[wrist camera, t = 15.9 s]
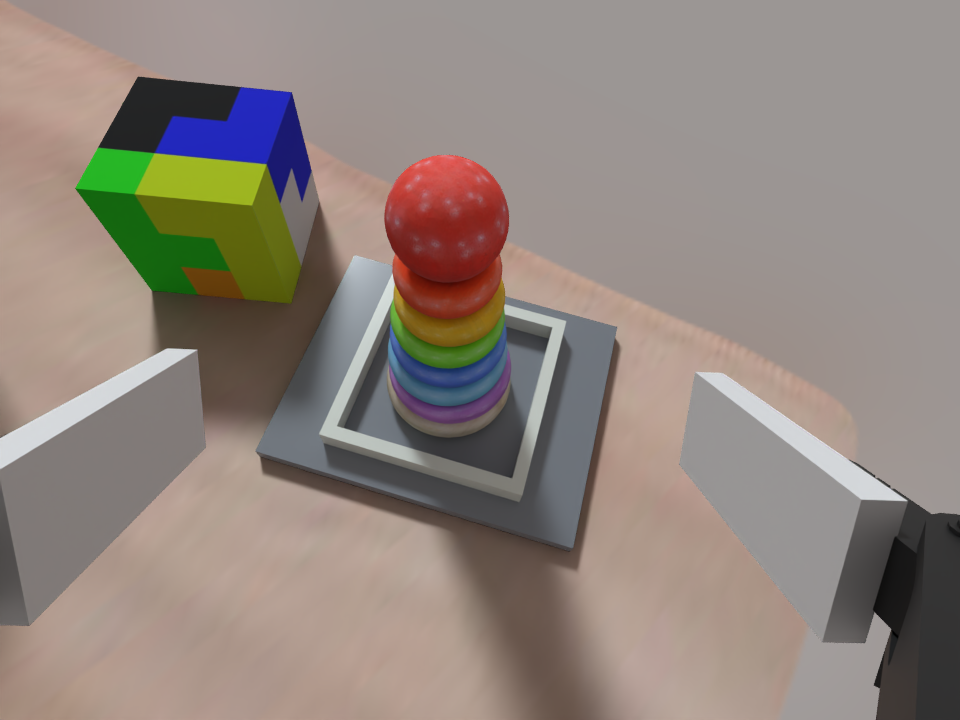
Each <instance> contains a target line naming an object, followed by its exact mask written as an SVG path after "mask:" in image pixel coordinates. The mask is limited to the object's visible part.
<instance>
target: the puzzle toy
mask: <svg viewBox="0 0 960 720" xmlns="http://www.w3.org/2000/svg"><path fill="white" fill-rule="evenodd" d="M75 189H76V190H77V192H78V193H79V194H80V196H81V197H82V198H83V200H84V201H85V202H86V203H87V205H88V206H89V207H90V209H91V210H92V211H93V213H94V214H95V215H96V217H97V218H98V219H99V221H100V222H101V223H102V225H103V226H104V227H105V229H106V230H107V231H108V233H109V234H110V235H111V237H112V238H113V239H114V241H115V242H116V243H117V245H118V246H119V247H120V249H121V250H122V251H123V253H124V254H125V255H126V257H127V258H128V259H129V261H130V262H131V263H132V265H133V266H134V267H135V269H136V270H137V271H138V273H139V274H140V275H141V277H142V278H143V279H144V281H145V282H146V283H147V285H148V286H149V287H150V289H151V290H152V291H161V292H172V293H183V294H193V295H204V296H215V297H226V298H237V299H247V300H258V301H269V302H280V303H292V299H293V296H294V292H295V288H296V285H297V281H298V277H299V274H300V270H301V266H302V263H303V259H304V256H305V252H306V248H307V245H308V241H309V237H310V234H311V230H312V226H313V223H314V219H315V215H316V212H317V208H318V204H319V198H318V194H317V190H316V186H315V182H314V178H313V174H312V170H311V166H310V162H309V158H308V154H307V150H306V147H305V143H304V139H303V135H302V131H301V127H300V123H299V119H298V115H297V111H296V107H295V103H294V99H293V95H292V92H283V91H273V90H264V89H254V88H244V87H235V86H225V85H214V84H205V83H194V82H185V81H175V80H166V79H156V78H146V77H138V78H137V79H136V81H135V83H134V85H133V86H132V88H131V90H130V92H129V94H128V95H127V97H126V99H125V101H124V102H123V104H122V106H121V108H120V110H119V111H118V113H117V115H116V117H115V118H114V120H113V122H112V124H111V126H110V127H109V129H108V131H107V133H106V134H105V136H104V138H103V140H102V142H101V143H100V145H99V147H98V149H97V151H96V152H95V154H94V156H93V158H92V159H91V161H90V163H89V165H88V167H87V168H86V170H85V172H84V174H83V175H82V177H81V179H80V181H79V183H78V184H77V186H76V188H75Z"/></svg>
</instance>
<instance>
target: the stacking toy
mask: <svg viewBox="0 0 960 720" xmlns="http://www.w3.org/2000/svg"><path fill="white" fill-rule="evenodd" d="M384 221H385V228H386V233H387V237H388V239H389V242H390V244H391V247H392V249H393V251H394V252H395V256H394V260H393V267H392V273H393V279H394V283H395V286H394V292H393V301H392V304H391V310H390V321H391V325H390V338H389V343H388V359H389V366H388V371H387V389H388V393H389V397H390V399H391V402H392V404H393V406H394V408H395V409H396V411H397V412H398V414H399V415H400V416H401V417H402V418H403V419H404V420H405V421H406V422H407V423H408V424H410V425H411V426H412V427H414V428H415V429H417V430H419V431H421V432H423V433H426V434H429V435H433V436H437V437H446V438H451V437H461V436H466V435H469V434H472V433H475V432H477V431H479V430H481V429H483V428H484V427H485V426H487V425H488V424H489V423H491V422H492V421H493V420H494V419H495V418H496V417H497V415H498V414H499V413H500V412H501V410H502V409H503V407H504V405H505V403H506V401H507V398H508V395H509V391H510V383H511V380H510V375H511V360H510V354H509V351H508V347H507V341H506V338H507V332H506V324H505V311H504V305H505V288H504V284H503V281H502V278H501V277H502V262H501V257H500V255H499V254H500V252H501V250H502V248H503V246H504V243H505V241H506V237H507V233H508V227H509V212H508V206H507V203H506V199H505V196H504V194H503V191H502V189H501V187H500V185H499V184H498V183H497V181H496V180H495V178H494V177H493V176H492V175H491V174H490V173H489V172H488V171H487V170H486V169H485V168H483V167H482V166H480V165H479V164H477V163H475V162H474V161H471V160H469V159H466V158H463V157H459V156H453V155H437V156H432V157H429V158H426V159H423V160H421V161H419V162H417V163H415V164H413V165H412V166H410V167H409V168H407V169H406V170H405V171H404V172H403V173H402V174H401V175H400V176H399V177H398V179H397V180H396V182H395V183H394V185H393V187H392V189H391V191H390V193H389V195H388V199H387V202H386V207H385V217H384Z"/></svg>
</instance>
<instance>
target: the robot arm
mask: <svg viewBox="0 0 960 720" xmlns="http://www.w3.org/2000/svg"><path fill="white" fill-rule="evenodd" d="M205 448H206V443H205V432H204V420H203V409H202V397H201V385H200V374H199V362H198V350H192V349H170V348H167V349H165V350H163V351H161V352H159V353H158V354H156V355H154V356H152V357H150V358H148V359H146V360H145V361H143V362H141V363H139V364H137V365H135V366H133V367H132V368H130V369H128V370H126V371H124V372H122V373H120V374H119V375H117V376H115V377H113V378H111V379H109V380H107V381H106V382H104V383H102V384H100V385H98V386H96V387H94V388H93V389H91V390H89V391H87V392H85V393H83V394H81V395H80V396H78V397H76V398H74V399H72V400H70V401H68V402H67V403H65V404H63V405H61V406H59V407H57V408H55V409H54V410H52V411H50V412H48V413H46V414H44V415H42V416H40V417H39V418H37V419H35V420H33V421H31V422H29V423H27V424H26V425H24V426H22V427H20V428H18V429H16V430H14V431H13V432H11V433H8V434H6V435H4V436H2V437H0V625H17V626H30V625H31V624H32V623H33V622H34V621H35V620H36V619H37V618H38V617H39V616H40V615H41V614H42V613H43V612H44V611H45V610H46V609H47V608H48V607H49V605H50V604H51V603H52V602H53V601H54V600H55V599H56V598H57V597H58V596H59V595H60V594H61V593H62V592H63V591H64V590H65V589H66V588H67V587H68V586H69V585H70V584H71V583H72V582H73V581H74V580H75V579H76V578H77V577H78V576H79V575H80V574H81V573H82V572H83V571H84V570H85V569H86V568H87V567H88V566H89V565H90V564H91V563H92V562H93V561H94V560H95V559H96V558H97V557H98V556H99V555H100V554H101V553H102V552H103V551H104V550H105V549H106V548H107V547H108V546H109V545H110V544H111V543H112V542H113V541H114V540H115V539H116V538H117V537H118V536H119V535H120V534H121V533H122V532H123V531H124V530H125V529H126V528H127V527H128V526H129V525H130V524H131V523H132V522H133V521H134V520H135V519H136V518H137V516H138V515H139V514H140V513H141V512H142V511H143V510H144V509H145V508H146V507H147V506H148V505H149V504H150V503H151V502H152V501H153V500H154V499H155V498H156V497H157V496H158V495H159V494H160V493H161V492H162V491H163V490H164V489H165V488H166V487H167V486H168V485H169V484H170V483H171V482H172V481H173V480H174V479H175V478H176V477H177V476H178V475H179V474H180V473H181V472H182V471H183V470H184V469H185V468H186V467H187V466H188V465H189V464H190V463H191V462H192V461H193V460H194V459H195V458H196V457H197V456H198V455H199V454H200V453H201V452H202V451H203V450H204V449H205ZM679 465H680V466H681V467H682V469H683V470H684V471H685V472H686V474H687V475H688V476H689V477H690V479H691V480H692V481H693V482H694V484H695V485H696V486H697V487H698V489H699V490H700V491H701V492H702V494H703V495H704V496H705V497H706V499H707V500H708V501H709V502H710V504H711V505H712V506H713V507H714V508H715V510H716V511H717V512H718V513H719V515H720V516H721V517H722V518H723V520H724V521H725V522H726V523H727V525H728V526H729V527H730V528H731V530H732V531H733V532H734V533H735V535H736V536H737V537H738V538H739V540H740V541H741V542H742V543H743V545H744V546H745V547H746V548H747V550H748V551H749V552H750V553H751V555H752V556H753V557H754V558H755V559H756V561H757V562H758V563H759V564H760V566H761V567H762V568H763V569H764V571H765V572H766V573H767V574H768V576H769V577H770V578H771V579H772V581H773V582H774V583H775V584H776V586H777V587H778V588H779V589H780V591H781V592H782V593H783V594H784V596H785V597H786V598H787V599H788V601H789V602H790V603H791V604H792V605H793V607H794V608H795V609H796V610H797V612H798V613H799V614H800V615H801V617H802V618H803V619H804V620H805V622H806V623H807V624H808V625H809V627H810V628H811V629H812V630H813V631H814V633H815V634H816V635H817V636H818V638H819V639H820V640H821V642H835V643H865V642H866V638H867V635H868V632H869V628H870V625H871V622H872V619H873V615H874V612H875V613H876V614H877V615H878V616H879V617H880V618H881V619H882V620H883V621H884V622H885V623H886V624H887V625H888V626H889V627H890V628H891V632H890V636H889V639H888V642H887V645H886V648H885V651H884V654H883V658H882V661H881V664H880V667H879V670H878V673H877V676H876V680H875V683H874V686H876V687H878V688H880V693H879V700H878V707H877V715H876V720H960V515H957V514H945V513H938V514H930V513H929V512H927V511H926V510H925V509H923V508H922V507H920V506H919V505H917V504H916V503H914V502H913V501H911V500H910V499H909V498H907V497H906V496H904V495H903V494H901V493H900V492H898V491H897V490H895V489H891V488H890V485H888V484H887V483H885V482H884V481H882V480H880V479H879V478H875V475H873V474H872V473H870V472H869V471H867V470H866V469H865V468H863V467H862V466H860V465H859V464H857V463H855V462H853V461H851V460H849V459H846V458H845V457H843V456H842V455H841V454H839V453H838V452H836V451H835V450H833V449H832V448H830V447H829V446H828V445H826V444H825V443H823V442H822V441H820V440H819V439H817V438H816V437H814V436H813V435H812V434H810V433H809V432H807V431H806V430H804V429H803V428H801V427H800V426H799V425H797V424H796V423H794V422H793V421H791V420H790V419H788V418H787V417H786V416H784V415H783V414H781V413H780V412H778V411H777V410H775V409H774V408H773V407H771V406H770V405H768V404H767V403H765V402H764V401H762V400H761V399H759V398H758V397H757V396H755V395H754V394H752V393H751V392H749V391H748V390H746V389H745V388H744V387H742V386H741V385H739V384H738V383H736V382H735V381H733V380H732V379H731V378H729V377H728V376H726V375H725V374H723V373H708V372H695V375H694V381H693V387H692V393H691V398H690V404H689V410H688V416H687V422H686V428H685V433H684V439H683V445H682V451H681V457H680V463H679Z"/></svg>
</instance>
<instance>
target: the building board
mask: <svg viewBox="0 0 960 720" xmlns="http://www.w3.org/2000/svg"><path fill="white" fill-rule="evenodd" d="M392 267H393V266H392V265H388V264H385V263H381V262H378V261H374V260H370V259H367V258H363V257H359V256H356V255H354V257H353V259H352V261H351V263H350V265H349V267H348V269H347V271H346V273H345V275H344V277H343V279H342V281H341V283H340V285H339V287H338V289H337V291H336V293H335V295H334V297H333V299H332V301H331V303H330V305H329V307H328V309H327V311H326V313H325V315H324V317H323V319H322V321H321V323H320V325H319V326H318V328H317V330H316V332H315V334H314V336H313V338H312V340H311V342H310V344H309V346H308V348H307V350H306V352H305V354H304V356H303V358H302V360H301V362H300V364H299V366H298V368H297V370H296V372H295V374H294V376H293V378H292V380H291V382H290V384H289V386H288V388H287V390H286V392H285V394H284V396H283V397H282V399H281V401H280V403H279V405H278V407H277V409H276V411H275V413H274V415H273V417H272V419H271V421H270V423H269V425H268V427H267V429H266V431H265V433H264V435H263V437H262V439H261V441H260V443H259V445H258V447H257V449H256V452H257V454H258V455H259V456H260V457H263V458H266V459H270V460H273V461H276V462H280V463H283V464H286V465H289V466H293V467H296V468H299V469H302V470H306V471H309V472H312V473H315V474H319V475H322V476H325V477H328V478H332V479H335V480H338V481H341V482H345V483H348V484H351V485H355V486H358V487H361V488H364V489H368V490H371V491H374V492H377V493H381V494H384V495H387V496H390V497H394V498H397V499H400V500H403V501H407V502H410V503H413V504H416V505H420V506H423V507H426V508H430V509H433V510H436V511H439V512H443V513H446V514H449V515H452V516H456V517H459V518H462V519H465V520H469V521H472V522H475V523H478V524H482V525H485V526H488V527H491V528H495V529H498V530H501V531H505V532H508V533H511V534H514V535H518V536H521V537H524V538H527V539H531V540H534V541H537V542H540V543H544V544H547V545H550V546H553V547H557V548H560V549H563V550H566V551H571V550H572V549H573V546H574V541H575V536H576V531H577V526H578V521H579V516H580V511H581V506H582V501H583V496H584V491H585V486H586V481H587V476H588V471H589V466H590V461H591V456H592V451H593V446H594V441H595V436H596V431H597V426H598V421H599V416H600V411H601V405H602V400H603V395H604V390H605V385H606V380H607V375H608V370H609V365H610V360H611V355H612V350H613V345H614V340H615V335H616V330H617V327H615V326H611V325H608V324H604V323H600V322H597V321H593V320H589V319H586V318H582V317H579V316H575V315H571V314H568V313H564V312H560V311H557V310H553V309H549V308H546V307H542V306H538V305H535V304H531V303H527V302H524V301H520V300H516V299H513V298H509V297H505V305H504V311H505V324H506V332H507V338H506V341H507V347H508V351H509V354H510V360H511V375H510V380H511V383H510V391H509V395H508V398H507V401H506V403H505V405H504V407H503V409H502V410H501V412H500V413H499V414H498V415H497V417H496V418H495V419H494V420H493V421H492V422H491V423H489V424H488V425H487V426H485V427H484V428H483V429H481V430H479V431H477V432H475V433H472V434H469V435H466V436H461V437H451V438H446V437H437V436H433V435H429V434H426V433H423V432H421V431H419V430H417V429H415V428H414V427H412V426H411V425H410V424H408V423H407V422H406V421H405V420H404V419H403V418H402V417H401V416H400V415H399V414H398V412H397V411H396V409H395V408H394V406H393V404H392V402H391V399H390V397H389V393H388V389H387V371H388V366H389V359H388V343H389V338H390V325H391V321H390V310H391V304H392V301H393V292H394V286H395V283H394V279H393V273H392Z"/></svg>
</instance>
